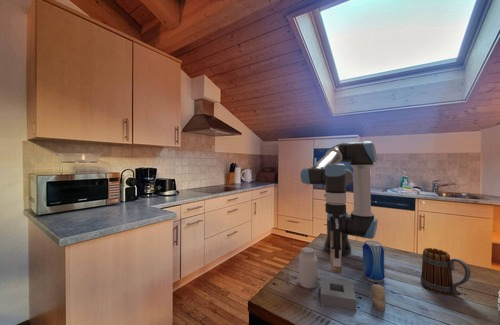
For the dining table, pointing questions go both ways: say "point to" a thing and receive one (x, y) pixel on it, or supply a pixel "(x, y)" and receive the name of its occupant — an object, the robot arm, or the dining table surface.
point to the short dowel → (378, 297)
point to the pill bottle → (308, 268)
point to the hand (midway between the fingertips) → (336, 263)
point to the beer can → (373, 261)
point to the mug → (441, 272)
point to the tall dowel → (333, 268)
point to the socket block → (337, 294)
